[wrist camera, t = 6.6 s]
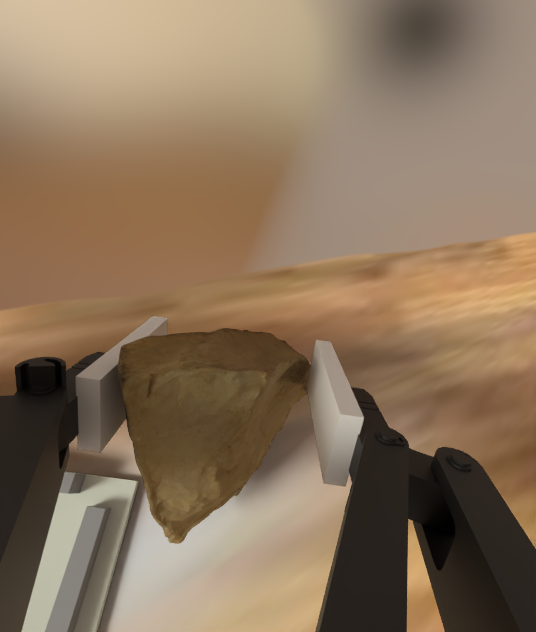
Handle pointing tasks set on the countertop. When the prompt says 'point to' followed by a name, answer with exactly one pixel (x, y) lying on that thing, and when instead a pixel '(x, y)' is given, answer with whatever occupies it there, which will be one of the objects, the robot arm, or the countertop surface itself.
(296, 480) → the countertop surface
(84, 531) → the shelf unit
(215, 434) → the rock
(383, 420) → the robot arm
